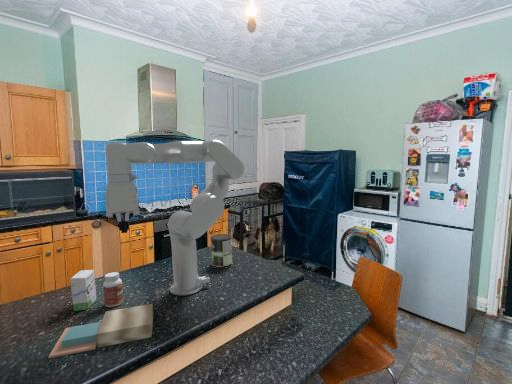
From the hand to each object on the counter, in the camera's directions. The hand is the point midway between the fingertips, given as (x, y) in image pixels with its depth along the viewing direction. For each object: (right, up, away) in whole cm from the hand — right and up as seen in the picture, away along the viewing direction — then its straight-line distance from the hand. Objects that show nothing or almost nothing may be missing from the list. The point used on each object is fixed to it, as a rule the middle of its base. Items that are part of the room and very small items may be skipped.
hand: (124, 232), depth 99 cm
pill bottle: (-6, -27, +6) cm, 28 cm away
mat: (-6, -29, -16) cm, 33 cm away
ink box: (-17, -28, +6) cm, 33 cm away
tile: (-4, -28, -16) cm, 33 cm away
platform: (+7, -28, -12) cm, 31 cm away
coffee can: (+29, -22, +44) cm, 57 cm away
